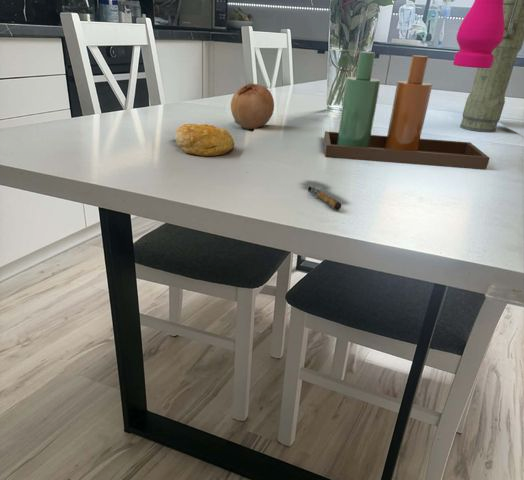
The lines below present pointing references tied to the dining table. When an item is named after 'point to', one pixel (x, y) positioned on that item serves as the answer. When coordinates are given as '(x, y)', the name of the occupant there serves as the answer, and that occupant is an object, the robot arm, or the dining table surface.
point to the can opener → (325, 198)
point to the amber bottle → (409, 108)
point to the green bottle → (359, 104)
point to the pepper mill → (480, 34)
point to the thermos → (495, 74)
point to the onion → (252, 106)
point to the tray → (410, 152)
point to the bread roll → (204, 139)
